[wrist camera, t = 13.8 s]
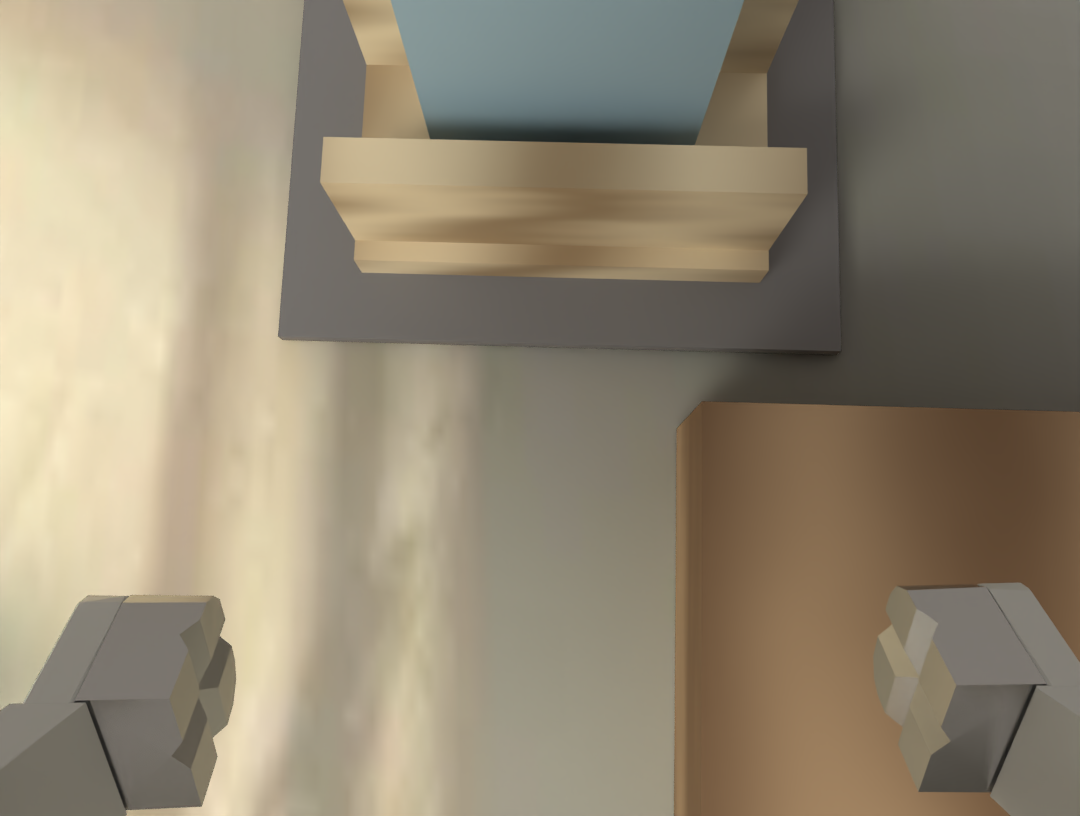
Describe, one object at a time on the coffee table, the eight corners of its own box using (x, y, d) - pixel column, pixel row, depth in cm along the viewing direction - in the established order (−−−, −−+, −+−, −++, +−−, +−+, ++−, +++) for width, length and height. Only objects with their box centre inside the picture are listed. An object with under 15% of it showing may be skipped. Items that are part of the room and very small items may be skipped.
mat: (282, 339, 24) (278, 335, 23) (310, -20, 26) (306, -29, 25) (836, 354, 24) (841, 350, 23) (828, -9, 25) (832, -18, 25)
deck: (673, 856, 22) (701, 922, 18) (676, 428, 23) (702, 401, 19) (1198, 876, 22) (1344, 945, 18) (1164, 442, 23) (1290, 417, 19)
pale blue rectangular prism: (439, 169, 23) (355, -125, 13) (443, 94, 23) (364, -249, 14) (683, 177, 23) (783, -114, 13) (684, 101, 23) (781, -239, 13)
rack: (365, 277, 24) (318, 205, 19) (379, 40, 25) (339, -85, 20) (756, 287, 24) (808, 217, 19) (754, 48, 25) (802, -76, 20)
